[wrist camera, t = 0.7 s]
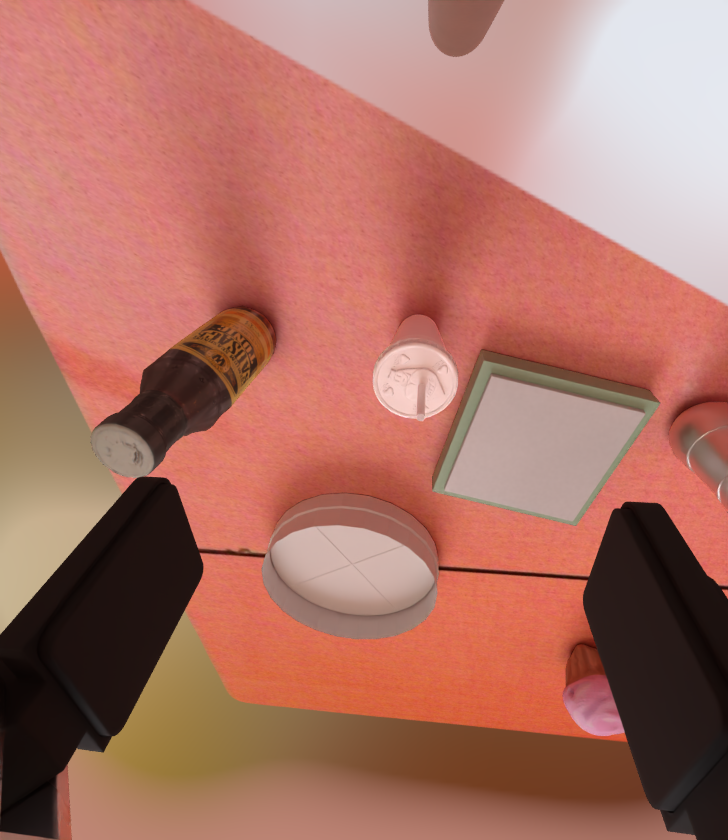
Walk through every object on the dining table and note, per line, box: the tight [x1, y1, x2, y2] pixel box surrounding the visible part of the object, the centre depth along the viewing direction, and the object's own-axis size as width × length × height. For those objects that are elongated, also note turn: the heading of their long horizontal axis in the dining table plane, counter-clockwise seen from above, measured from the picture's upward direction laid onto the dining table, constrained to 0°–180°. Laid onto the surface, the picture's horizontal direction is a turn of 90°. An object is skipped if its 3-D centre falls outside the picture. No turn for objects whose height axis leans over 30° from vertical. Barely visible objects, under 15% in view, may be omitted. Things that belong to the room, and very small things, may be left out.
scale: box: [432, 350, 660, 526], centre depth 44 cm, size 16×16×3 cm
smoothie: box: [373, 314, 458, 421], centre depth 35 cm, size 6×6×14 cm
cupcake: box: [563, 645, 625, 736], centre depth 59 cm, size 9×9×10 cm
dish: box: [262, 493, 439, 639], centre depth 56 cm, size 22×22×5 cm
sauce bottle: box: [91, 306, 276, 478], centre depth 34 cm, size 7×6×20 cm
